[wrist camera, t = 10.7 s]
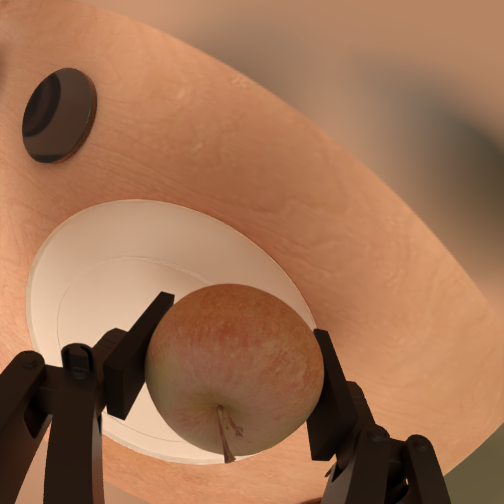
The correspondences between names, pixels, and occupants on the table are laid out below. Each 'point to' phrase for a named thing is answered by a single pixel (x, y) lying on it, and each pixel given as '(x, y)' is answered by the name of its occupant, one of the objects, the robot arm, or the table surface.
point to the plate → (139, 292)
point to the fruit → (233, 370)
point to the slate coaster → (59, 116)
